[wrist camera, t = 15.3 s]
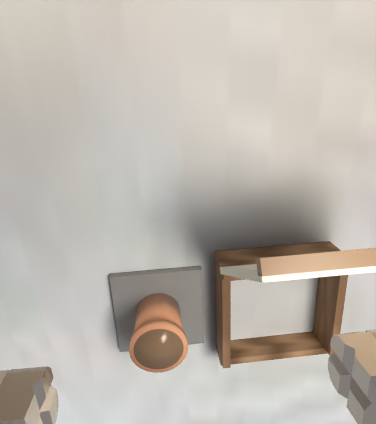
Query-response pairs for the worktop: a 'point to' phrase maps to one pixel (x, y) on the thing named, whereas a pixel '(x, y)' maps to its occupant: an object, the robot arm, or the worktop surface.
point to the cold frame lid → (306, 266)
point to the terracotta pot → (158, 334)
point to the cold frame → (281, 344)
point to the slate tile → (151, 284)
